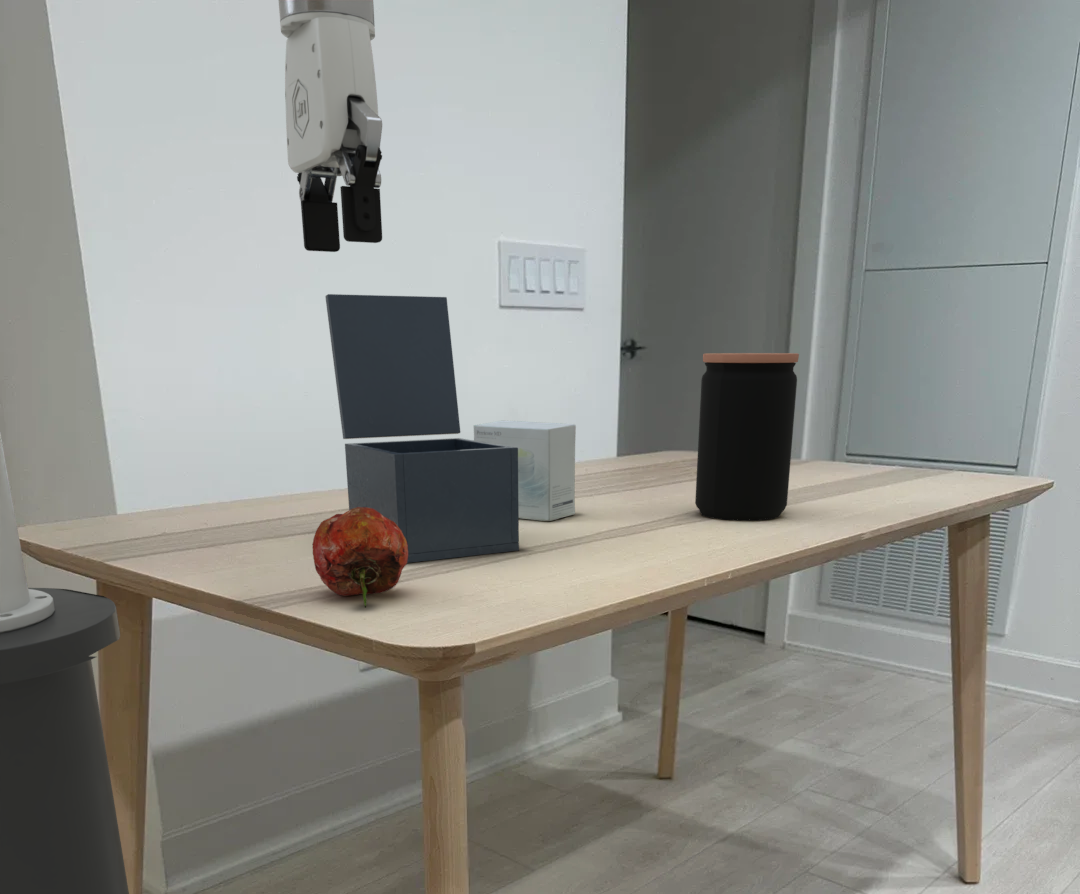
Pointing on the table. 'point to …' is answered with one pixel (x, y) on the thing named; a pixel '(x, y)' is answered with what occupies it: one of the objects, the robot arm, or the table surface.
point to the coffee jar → (745, 435)
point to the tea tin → (440, 493)
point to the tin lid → (393, 365)
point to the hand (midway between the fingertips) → (342, 246)
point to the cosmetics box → (539, 465)
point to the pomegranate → (359, 552)
